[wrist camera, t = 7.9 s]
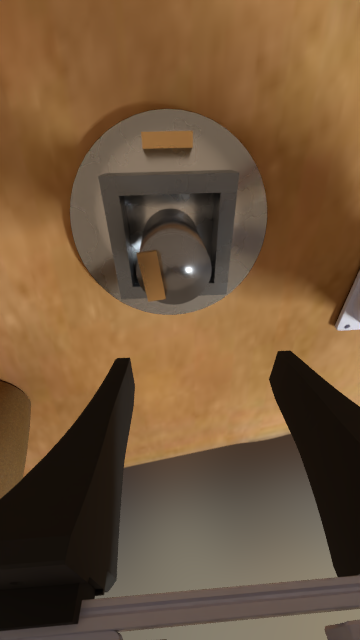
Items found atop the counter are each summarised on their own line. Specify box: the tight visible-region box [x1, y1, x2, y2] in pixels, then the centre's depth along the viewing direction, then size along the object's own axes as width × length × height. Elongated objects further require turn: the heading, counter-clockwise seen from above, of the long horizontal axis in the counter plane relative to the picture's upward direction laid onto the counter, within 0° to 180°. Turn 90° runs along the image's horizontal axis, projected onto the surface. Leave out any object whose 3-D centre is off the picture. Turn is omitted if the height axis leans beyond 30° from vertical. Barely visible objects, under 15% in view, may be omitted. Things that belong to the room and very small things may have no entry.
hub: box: [70, 109, 267, 315], centre depth 17 cm, size 14×14×3 cm
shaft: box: [136, 208, 212, 305], centre depth 15 cm, size 4×4×6 cm
